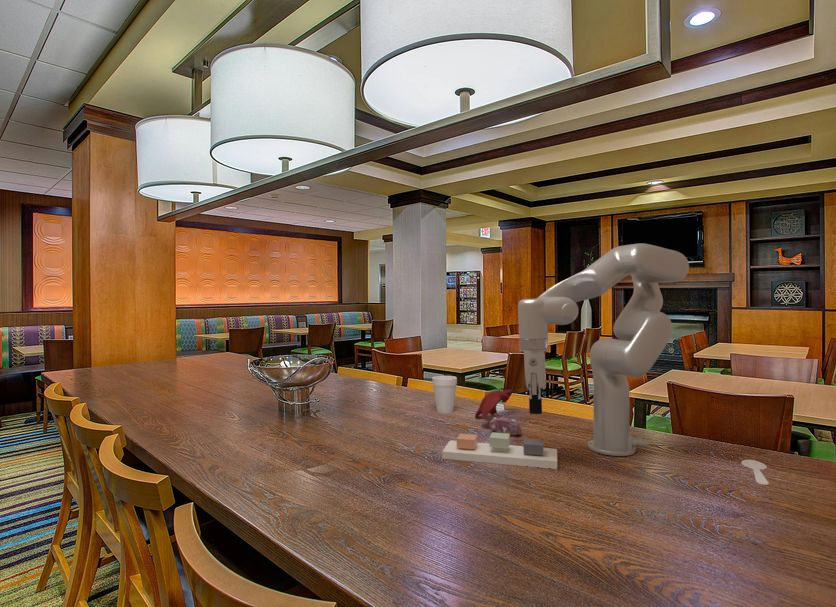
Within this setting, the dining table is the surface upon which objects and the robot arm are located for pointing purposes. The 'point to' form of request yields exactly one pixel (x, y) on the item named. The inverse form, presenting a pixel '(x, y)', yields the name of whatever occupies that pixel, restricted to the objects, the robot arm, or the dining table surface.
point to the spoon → (756, 470)
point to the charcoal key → (533, 446)
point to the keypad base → (501, 455)
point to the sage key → (499, 440)
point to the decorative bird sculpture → (492, 402)
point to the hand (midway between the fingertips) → (535, 413)
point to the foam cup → (444, 393)
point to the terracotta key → (467, 441)
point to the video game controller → (505, 425)
